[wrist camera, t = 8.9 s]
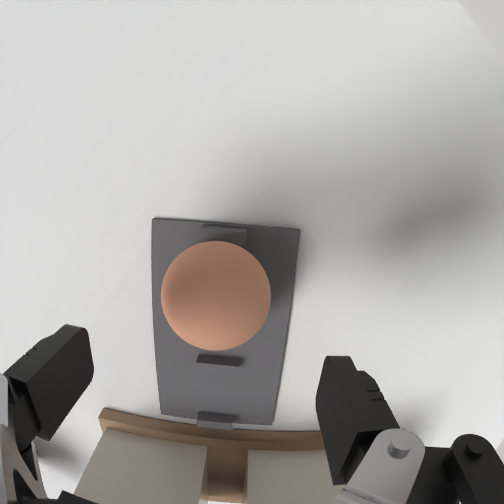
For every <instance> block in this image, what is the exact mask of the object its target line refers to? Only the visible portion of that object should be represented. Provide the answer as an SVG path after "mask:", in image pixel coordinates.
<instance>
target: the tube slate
mask: <svg viewBox="0 0 504 504" xmlns="http://www.w3.org/2000/svg"><path fill="white" fill-rule="evenodd" d="M345 486H346V484H345V485H334V486H333V483H332V478H331V474H330V469H329V465H328V460H327V456H326V451H325V450H306V451H272V450H248V455H247V463H246V471H245V478H244V485H243V493H242V504H331V503H332V502H333V501H334V499H335V498H336V496H337V495H338V494H339V492H340V491H341V490H342V489H343V488H345Z"/></svg>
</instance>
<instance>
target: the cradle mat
mask: <svg viewBox="0 0 504 504" xmlns="http://www.w3.org/2000/svg"><path fill="white" fill-rule="evenodd" d="M299 233H300V230H299V229H287V228H276V227H264V226H252V225H240V224H227V223H214V222H200V221H186V220H171V219H155V218H153V219H152V247H151V260H152V306H153V328H154V344H155V358H156V370H157V381H158V391H159V400H160V409H161V414H164V415H170V416H177V417H184V418H191V419H197V427H205V428H215V429H225V430H232V423H240V424H257V425H272V419H273V414H274V408H275V402H276V396H277V390H278V384H279V378H280V372H281V366H282V360H283V353H284V347H285V340H286V333H287V326H288V319H289V312H290V305H291V298H292V290H293V283H294V275H295V267H296V259H297V250H298V242H299ZM208 241H223V242H229V243H232V244H235V245H237V246H240V247H242V248H243V249H245V250H247V251H248V252H249V253H250V254H252V255H253V256H254V257H255V258H256V259H257V260H258V261H259V263H260V264H261V265H262V267H263V269H264V271H265V272H266V275H267V277H268V280H269V284H270V290H271V303H270V308H269V312H268V315H267V318H266V320H265V322H264V324H263V325H262V327H261V328H260V330H259V331H258V332H257V333H256V334H255V335H254V336H253V337H252V338H251V339H249V340H248V341H247V342H245V343H243V344H241V345H239V346H237V347H235V348H232V349H228V350H220V351H213V350H205V349H201V348H198V347H195V346H193V345H191V344H189V343H187V342H186V341H184V340H183V339H182V338H181V337H179V336H178V335H177V334H176V333H175V332H174V330H173V329H172V328H171V326H170V325H169V323H168V321H167V319H166V317H165V315H164V312H163V308H162V303H161V288H162V283H163V279H164V276H165V273H166V271H167V270H168V268H169V266H170V265H171V263H172V262H173V260H174V259H175V258H176V257H177V256H178V255H179V254H181V253H182V252H183V251H185V250H186V249H188V248H189V247H191V246H193V245H196V244H199V243H203V242H208Z"/></svg>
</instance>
